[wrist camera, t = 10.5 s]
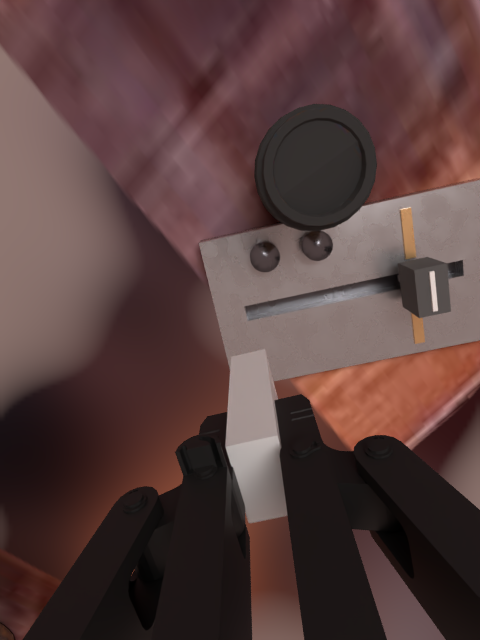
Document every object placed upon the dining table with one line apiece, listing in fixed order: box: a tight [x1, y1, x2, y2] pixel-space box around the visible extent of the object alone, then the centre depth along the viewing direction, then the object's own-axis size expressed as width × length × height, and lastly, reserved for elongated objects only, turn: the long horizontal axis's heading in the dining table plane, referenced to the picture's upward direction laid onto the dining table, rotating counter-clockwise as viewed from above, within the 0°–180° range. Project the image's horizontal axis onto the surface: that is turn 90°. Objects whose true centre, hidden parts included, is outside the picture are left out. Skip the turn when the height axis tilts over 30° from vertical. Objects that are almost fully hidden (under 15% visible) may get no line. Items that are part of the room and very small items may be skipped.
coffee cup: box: [254, 104, 377, 231], centre depth 34 cm, size 8×8×15 cm
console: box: [199, 178, 480, 381], centre depth 42 cm, size 16×28×4 cm, turn 102°
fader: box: [397, 257, 451, 318], centre depth 40 cm, size 4×3×7 cm, turn 12°
